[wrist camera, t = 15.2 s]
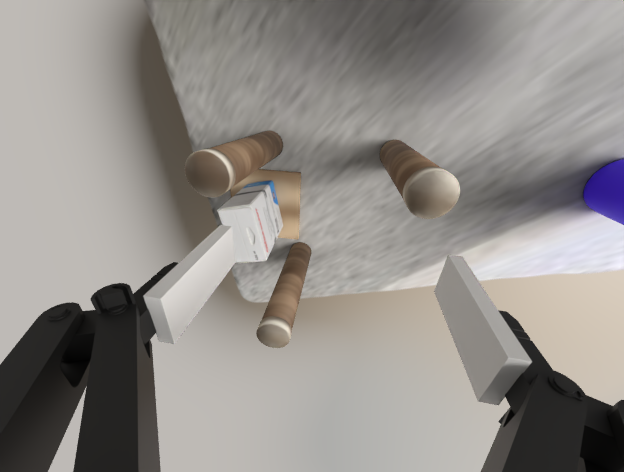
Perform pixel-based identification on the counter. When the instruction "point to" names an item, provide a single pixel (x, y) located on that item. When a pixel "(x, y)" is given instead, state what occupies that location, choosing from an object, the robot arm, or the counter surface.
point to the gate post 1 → (230, 162)
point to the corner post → (285, 299)
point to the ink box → (253, 221)
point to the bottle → (607, 191)
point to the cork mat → (280, 196)
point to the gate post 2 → (419, 180)
